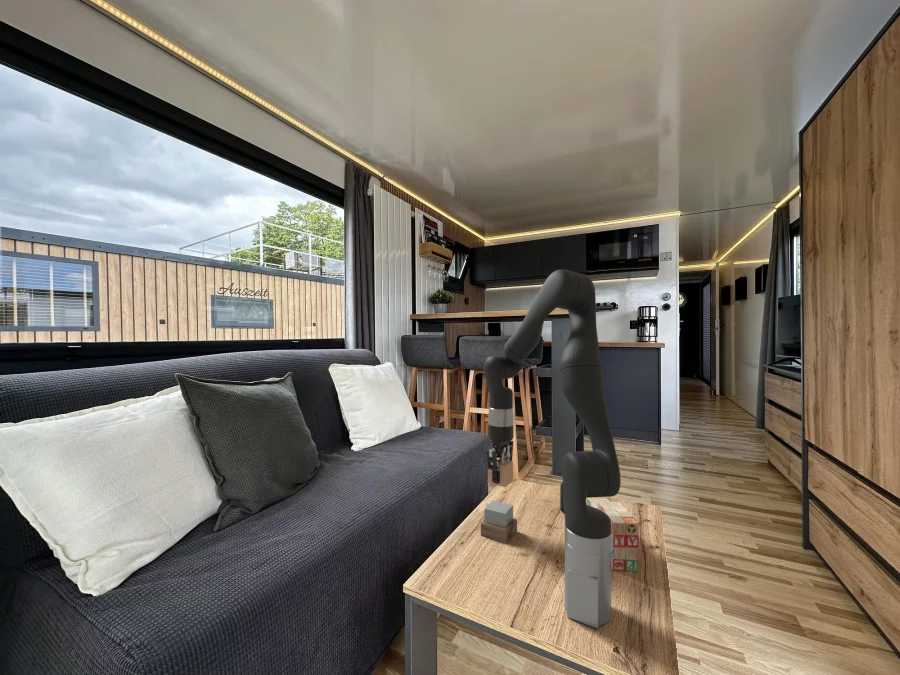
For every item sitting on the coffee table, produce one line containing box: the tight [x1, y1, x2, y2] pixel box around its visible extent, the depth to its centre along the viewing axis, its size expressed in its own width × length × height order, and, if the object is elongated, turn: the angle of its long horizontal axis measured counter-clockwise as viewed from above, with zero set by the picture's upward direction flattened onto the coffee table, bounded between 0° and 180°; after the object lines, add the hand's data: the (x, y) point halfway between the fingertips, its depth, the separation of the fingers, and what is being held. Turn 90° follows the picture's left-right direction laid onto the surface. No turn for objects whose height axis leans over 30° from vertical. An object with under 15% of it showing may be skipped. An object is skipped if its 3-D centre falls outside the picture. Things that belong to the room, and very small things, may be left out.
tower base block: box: [480, 517, 518, 545], centre depth 111 cm, size 8×8×4 cm
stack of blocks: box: [586, 498, 640, 573], centre depth 103 cm, size 21×6×12 cm, turn 176°
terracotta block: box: [487, 458, 514, 488], centre depth 111 cm, size 6×6×6 cm
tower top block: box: [483, 500, 514, 528], centre depth 111 cm, size 6×6×4 cm
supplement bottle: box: [559, 481, 564, 514], centre depth 125 cm, size 7×7×12 cm
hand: (500, 479), depth 111 cm, fingers closed on terracotta block, 5 cm apart
